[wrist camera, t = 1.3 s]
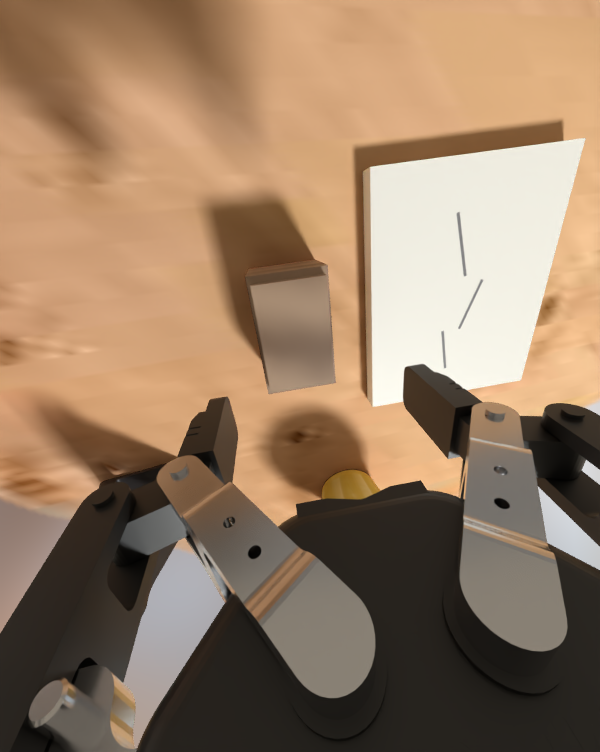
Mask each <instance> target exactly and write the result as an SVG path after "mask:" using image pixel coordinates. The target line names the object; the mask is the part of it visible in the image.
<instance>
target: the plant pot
mask: <svg viewBox="0 0 600 752" xmlns="http://www.w3.org/2000/svg"><path fill="white" fill-rule="evenodd" d="M379 491H380V490H379V488H378V487H377V486H376V484H375V483H374V481H373V480H372V479H371V477H370V476H369V475H368V474H366V473H364V472H362V471H358V470H345V471H341V472H339V473H337V474H335V475H333V476H332V477H330V478H329V479H328V480H327V481H326V482H325V484H324V486H323V488H322V499H326V498H332V499H364V498H366V497H368V496H370V495H373V494H375V493H377V492H379Z"/></svg>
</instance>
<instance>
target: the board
mask: <svg viewBox="0 0 600 752" xmlns="http://www.w3.org/2000/svg"><path fill="white" fill-rule="evenodd" d="M584 141H585V138H582V139H574V140H567V141H559V142H552V143H545V144H537V145H530V146H522V147H515V148H507V149H500V150H492V151H485V152H477V153H470V154H462V155H455V156H447V157H440V158H432V159H425V160H417V161H410V162H402V163H395V164H387V165H380V166H372V167H369V168H368V169H366V170H364V171H363V208H364V257H365V306H366V355H367V399H368V401H369V402H370V404H371V405H372V407H375V406H381V405H386V404H392V403H397V402H403V381H404V369H405V367H407V366H412V365H418V364H425V365H426V366H427V367H429V368H430V369H431V370H432V371H434V372H438V373H440V374H443V375H446V376H448V377H449V378H451V379H452V380H453V381H455V382H456V384H459V385H460V386H461V387H462V388H464V389H466V390H469V389H475V388H480V387H486V386H491V385H497V384H502V383H508V382H513V381H519V380H521V378H522V374H523V370H524V367H525V363H526V359H527V355H528V352H529V348H530V344H531V340H532V337H533V333H534V329H535V325H536V322H537V318H538V314H539V310H540V307H541V303H542V299H543V295H544V292H545V288H546V284H547V280H548V277H549V273H550V269H551V265H552V262H553V258H554V254H555V250H556V247H557V243H558V239H559V235H560V232H561V228H562V224H563V220H564V217H565V213H566V209H567V205H568V202H569V198H570V194H571V190H572V186H573V183H574V179H575V175H576V171H577V168H578V164H579V160H580V156H581V153H582V149H583V145H584Z"/></svg>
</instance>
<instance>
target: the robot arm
mask: <svg viewBox="0 0 600 752" xmlns="http://www.w3.org/2000/svg"><path fill="white" fill-rule="evenodd" d="M403 402H404V405H405V407H406V409H407V410H408V412H409V413H410V414H411V415H412V416H413V418H414V419H415V420H416V421H417V422H418V424H419V425H420V426H421V427H422V428H423V430H424V431H425V432H426V433H427V434H428V436H429V437H430V438H431V439H432V440H433V441H434V443H435V444H436V445H437V446H438V447H439V449H440V450H441V451H442V452H443V453H444V455H445V456H446V457H447V458H448V459H450V458H456V457H462V459H463V462H462V468H461V477H460V486H459V495H458V497H456V496H453V495H450V494H447V493H443V492H438V491H429V490H427V489H426V488H425V486H424V485H423V483H422V482H421V481H416V482H410V483H405V484H400V485H395V486H390V487H388V488H386V489H384V490H381V491H379V492H377V493H375V494H373V495H370V496H368V497H366V498H364V499H332V498H326V499H321V500H316V501H311V502H305V503H300V504H296V508H297V515H296V516H293V517H291V518H290V519H288V520H286V521H285V522H283V523H282V524H281V525H280V526H278V527H277V526H276V525H275V524H274V523H273V522H272V521H271V520H270V519H269V518H268V517H267V516H266V515H265V514H264V513H263V512H262V511H261V510H260V509H259V508H258V507H257V506H256V505H255V504H254V503H253V502H251V501H250V500H249V499H248V498H247V497H246V496H245V495H244V494H243V493H242V492H241V491H240V490H239V489H238V488H237V487H236V486H235V485H234V484H233V483H232V480H233V473H234V465H235V457H236V449H237V441H238V431H237V426H236V422H235V419H234V415H233V412H232V408H231V405H230V401H229V399H228V397H221V398H216V399H210V400H209V403H208V406H207V409H206V411H205V412H199V413H198V414H197V415H196V416H195V417H194V418H193V419H192V421H191V423H190V426H189V430H188V431H187V433H186V437H185V439H184V441H183V444H182V446H181V449H180V451H179V454H178V456H177V458H176V459H174V460H172V461H170V462H168V463H167V464H166V465H165V466H164V467H163V468H162V469H161V470H160V471H159V473H158V475H157V480H155V481H153V482H151V483H148V484H146V485H143V486H141V487H139V488H136V489H134V490H131V489H130V488H129V486H128V484H126V483H124V482H114V483H110V484H108V485H105V486H103V487H101V488H99V489H97V490H96V491H94V492H93V493H92V494H90V495H89V496H88V497H87V498H86V499H85V500H84V501H83V502H82V503H81V505H80V506H79V508H78V510H77V511H76V513H75V514H74V516H73V518H72V519H71V521H70V522H69V524H68V526H67V527H66V529H65V530H64V532H63V534H62V535H61V537H60V538H59V540H58V542H57V543H56V545H55V547H54V548H53V550H52V551H51V553H50V555H49V556H48V558H47V559H46V562H45V563H44V564H43V566H42V568H41V569H40V571H39V572H38V574H37V575H36V577H35V579H34V580H33V582H32V583H31V585H30V587H29V588H28V590H27V591H26V593H25V595H24V596H23V598H22V600H21V601H20V603H19V604H18V606H17V608H16V609H15V611H14V612H13V614H12V616H11V617H10V619H9V620H8V622H7V624H6V625H5V627H4V628H3V630H2V632H1V633H0V752H600V570H598V569H596V568H594V567H592V566H590V565H589V564H587V563H585V562H583V561H581V560H579V559H577V558H575V557H573V556H571V555H569V554H567V553H566V552H564V551H562V550H560V549H558V548H556V547H554V546H552V545H550V544H548V543H547V539H546V533H545V527H544V521H543V515H542V509H541V503H540V497H539V492H538V487H540V488H541V490H543V491H544V492H545V493H546V494H547V495H548V496H549V497H550V498H551V499H552V500H553V501H554V502H555V503H556V504H557V505H558V506H559V507H560V508H561V509H562V510H563V511H564V512H565V513H566V514H567V515H568V516H569V517H570V518H571V519H572V520H573V521H574V522H575V523H576V524H577V525H578V526H579V527H580V528H581V529H582V530H583V531H584V532H585V533H587V535H588V536H590V537H591V538H592V539H593V540H594V541H595V542H596V543H597V544H598V545H599V546H600V485H599V484H598V483H596V482H595V481H594V480H593V479H591V478H590V477H589V476H588V475H586V474H585V473H584V472H583V471H581V470H582V468H583V466H584V463H585V461H586V460H588V461H589V462H590V463H592V464H593V465H594V466H596V467H597V468H598V469H600V416H599V415H598V414H596V413H594V412H592V411H590V410H588V409H586V408H583V407H580V406H576V405H571V404H564V403H556V404H550V405H548V406H546V407H545V410H544V413H543V416H542V417H541V416H519V414H518V413H517V412H516V411H515V410H514V409H512V408H510V407H508V406H506V405H503V404H499V403H492V402H482V401H480V400H479V399H478V398H476V397H475V396H474V395H472V394H471V393H470V392H468V391H467V390H466V389H464V388H462V387H461V386H460V385H459V384H456V382H455V381H453V380H452V379H451V378H449V377H448V376H446V375H443V374H440V373H438V372H434V371H432V370H431V369H430V368H429V367H427V366H426V365H425V364H418V365H412V366H407V367H405V369H404V381H403ZM183 538H186V540H187V542H188V543H189V545H190V546H191V548H192V549H193V551H194V553H195V554H196V556H197V557H198V559H199V560H200V562H201V564H202V565H203V567H204V568H205V570H206V571H207V573H208V575H209V576H210V578H211V579H212V581H213V583H214V585H215V587H216V588H217V590H218V592H219V594H220V595H221V597H222V599H223V600H224V602H225V604H224V606H223V607H222V609H221V610H220V612H219V613H218V615H217V616H216V618H215V619H214V621H213V623H212V624H211V626H210V627H209V629H208V630H207V632H206V633H205V635H204V636H203V638H202V640H201V641H200V643H199V644H198V646H197V647H196V649H195V650H194V652H193V653H192V655H191V656H190V658H189V660H188V661H187V663H186V665H185V666H184V667H183V669H182V671H181V672H180V673H179V675H178V677H177V678H176V680H175V681H174V683H173V684H172V686H171V687H170V689H169V691H168V692H167V694H166V695H165V697H164V698H163V700H162V701H161V703H160V704H159V706H158V708H157V709H156V711H155V713H154V715H153V716H152V718H151V720H150V722H149V724H148V726H147V728H146V729H145V732H144V734H143V736H142V738H141V740H140V743H139V745H138V748H136V749H135V746H134V740H133V726H134V719H135V699H134V696H133V693H132V692H131V690H130V689H129V688H128V687H127V686H126V685H125V684H124V683H123V682H124V678H125V675H126V671H127V667H128V664H129V660H130V656H131V653H132V649H133V646H134V642H135V638H136V634H137V631H138V627H139V623H140V620H141V616H142V613H143V609H144V606H145V602H146V598H147V595H148V591H149V587H150V584H151V580H152V576H153V573H154V569H155V565H156V562H157V558H158V555H159V551H160V549H162V548H164V547H166V546H168V545H170V544H172V543H174V542H176V541H178V540H181V539H183Z"/></svg>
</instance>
